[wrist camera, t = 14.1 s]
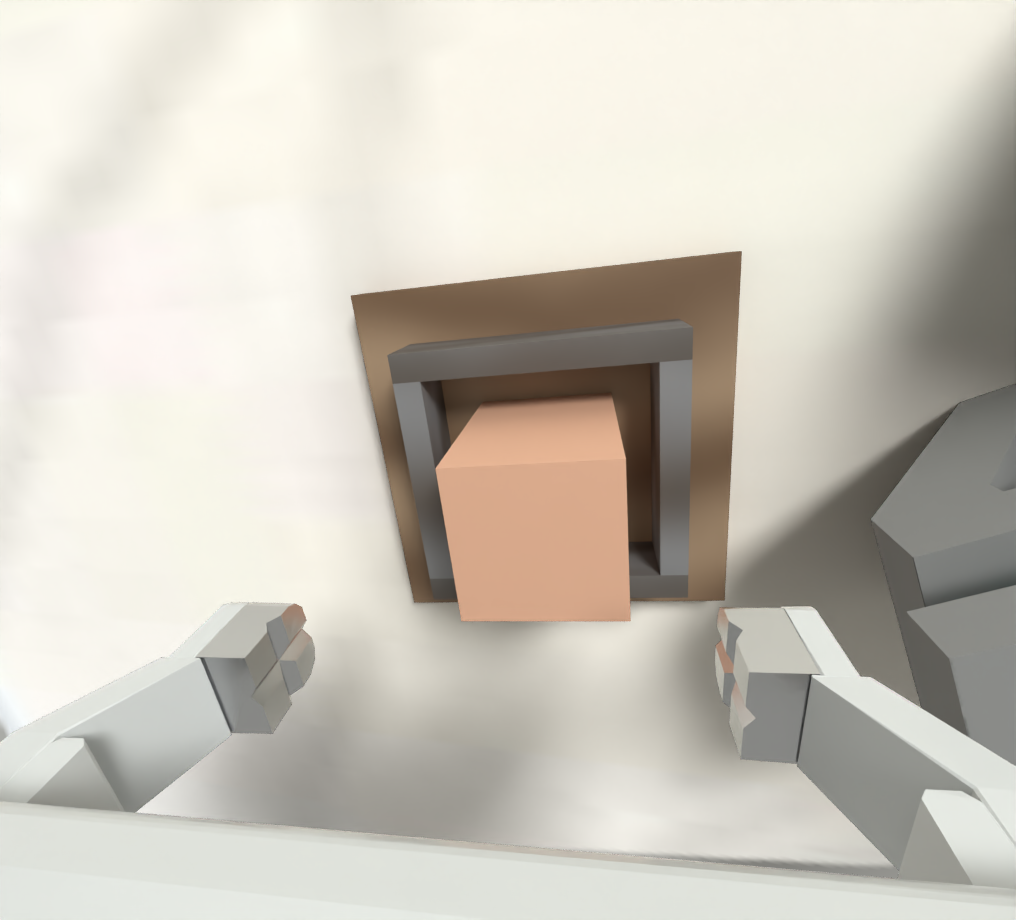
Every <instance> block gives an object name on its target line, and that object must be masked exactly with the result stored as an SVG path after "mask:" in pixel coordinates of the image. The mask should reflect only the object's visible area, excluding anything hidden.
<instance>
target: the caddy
mask: <svg viewBox="0 0 1016 920" xmlns="http://www.w3.org/2000/svg"><path fill="white" fill-rule="evenodd" d="M741 256H742V251H738V252H726V253H718V254H709V255H700V256H691V257H682V258H674V259H665V260H656V261H647V262H639V263H630V264H621V265H612V266H603V267H595V268H586V269H577V270H568V271H559V272H551V273H542V274H533V275H524V276H515V277H507V278H498V279H489V280H480V281H472V282H463V283H454V284H445V285H436V286H428V287H419V288H410V289H401V290H392V291H384V292H375V293H366V294H359V295H352V296H351V300H352V304H353V309H354V314H355V319H356V324H357V329H358V333H359V338H360V343H361V348H362V353H363V357H364V362H365V367H366V372H367V377H368V382H369V386H370V391H371V396H372V401H373V406H374V410H375V415H376V420H377V425H378V430H379V435H380V439H381V444H382V449H383V454H384V459H385V463H386V468H387V473H388V478H389V483H390V487H391V492H392V497H393V502H394V507H395V512H396V516H397V521H398V526H399V531H400V536H401V540H402V545H403V550H404V555H405V560H406V565H407V569H408V574H409V579H410V584H411V589H412V593H413V598H414V602H458V598H457V592H456V586H455V580H454V575H453V569H452V563H451V557H450V551H449V545H448V540H447V534H446V528H445V522H444V516H443V510H442V504H441V499H440V493H439V487H438V481H437V475H436V467H437V466H438V464H439V463H440V461H441V460H442V459H443V457H444V456H445V454H446V453H447V452H448V450H449V449H450V447H451V446H452V444H453V443H454V442H455V440H456V439H457V437H458V436H459V435H460V433H461V432H462V430H463V429H464V428H465V426H466V425H467V423H468V422H469V420H470V419H471V418H472V416H473V415H474V413H475V412H476V411H477V409H478V408H479V406H480V405H481V403H482V402H488V401H501V400H515V399H529V398H542V397H556V396H570V395H584V394H597V393H611V394H612V398H613V403H614V407H615V412H616V416H617V421H618V425H619V430H620V434H621V439H622V444H623V448H624V453H625V457H626V480H627V515H628V550H629V585H630V601H717V600H725V580H726V559H727V539H728V519H729V499H730V478H731V458H732V438H733V418H734V397H735V377H736V357H737V337H738V316H739V296H740V276H741Z"/></svg>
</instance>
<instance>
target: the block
mask: <svg viewBox="0 0 1016 920" xmlns="http://www.w3.org/2000/svg"><path fill="white" fill-rule="evenodd" d="M436 475H437V481H438V487H439V493H440V499H441V504H442V510H443V516H444V522H445V528H446V534H447V540H448V545H449V551H450V557H451V563H452V569H453V575H454V580H455V586H456V592H457V598H458V604H459V610H460V615H461V621H631V620H630V585H629V550H628V515H627V480H626V457H625V453H624V448H623V444H622V439H621V434H620V430H619V425H618V421H617V416H616V412H615V407H614V403H613V398H612V394H611V393H597V394H584V395H570V396H556V397H542V398H529V399H515V400H501V401H488V402H482V403H481V405H480V406H479V408H478V409H477V411H476V412H475V413H474V415H473V416H472V418H471V419H470V420H469V422H468V423H467V425H466V426H465V428H464V429H463V430H462V432H461V433H460V435H459V436H458V437H457V439H456V440H455V442H454V443H453V444H452V446H451V447H450V449H449V450H448V452H447V453H446V454H445V456H444V457H443V459H442V460H441V461H440V463H439V464H438V466H437V467H436Z"/></svg>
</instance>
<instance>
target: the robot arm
mask: <svg viewBox="0 0 1016 920" xmlns="http://www.w3.org/2000/svg"><path fill="white" fill-rule="evenodd" d="M305 622H306V617H305V615H304V612H303V609H302V607H301V606H299V605H297V604H288V603H258V602H252V603H249V602H230V603H227V604H224V605H222V606H221V607H220V608H219V609H218V610H217V611H216V612H215V613H214V614H213V615H212V616H211V617H210V618H209V619H208V620H207V621H206V622H205V623H204V624H203V625H202V626H201V627H200V628H198V629H197V630H196V631H195V632H194V633H193V634H192V635H191V636H190V637H189V638H188V639H187V640H186V641H185V642H184V643H183V644H182V645H181V646H180V647H179V648H178V649H177V650H176V651H175V652H174V653H173V654H172V655H171V656H170V657H161V658H159V659H157V660H155V661H153V662H151V663H149V664H147V665H145V666H143V667H141V668H139V669H137V670H135V671H133V672H131V673H129V674H127V675H125V676H123V677H121V678H119V679H117V680H115V681H113V682H111V683H109V684H107V685H105V686H103V687H101V688H99V689H97V690H95V691H93V692H91V693H89V694H87V695H85V696H83V697H81V698H79V699H77V700H75V701H73V702H71V703H69V704H68V705H66V706H64V707H62V708H60V709H58V710H56V711H54V712H52V713H50V714H48V715H46V716H44V717H42V718H40V719H38V720H36V721H34V722H32V723H30V724H28V725H26V726H24V727H22V728H20V729H18V730H16V731H14V732H12V733H11V734H10V735H9V736H7V737H6V738H5V739H4V740H3V741H2V742H0V920H1016V766H1014V765H1013V764H1011V763H1009V762H1008V761H1006V760H1005V759H1003V758H1001V757H1000V756H998V755H996V754H995V753H993V752H992V751H990V750H988V749H987V748H985V747H983V746H982V745H980V744H979V743H977V742H975V741H974V740H972V739H970V738H969V737H967V736H966V735H964V734H962V733H961V732H959V731H958V730H956V729H954V728H953V727H951V726H949V725H948V724H946V723H945V722H943V721H941V720H940V719H938V718H936V717H935V716H933V715H932V714H930V713H928V712H927V711H925V710H923V709H922V708H920V707H919V706H917V705H915V704H914V703H912V702H910V701H909V700H907V699H906V698H904V697H902V696H901V695H899V694H897V693H896V692H894V691H893V690H891V689H889V688H888V687H886V686H884V685H883V684H881V683H880V682H878V681H876V680H875V679H873V678H872V677H861V676H860V675H859V673H858V672H857V670H856V669H855V667H854V666H853V664H852V663H851V661H850V660H849V658H848V657H847V655H846V654H845V652H844V651H843V649H842V648H841V646H840V645H839V643H838V642H837V640H836V639H835V637H834V636H833V634H832V633H831V631H830V630H829V628H828V627H827V625H826V624H825V622H824V621H823V619H822V618H821V616H820V615H819V613H818V612H817V610H816V609H814V608H813V607H811V606H793V607H780V608H735V607H720V609H719V612H718V618H717V628H718V631H719V634H720V636H721V639H722V640H721V641H720V642H719V643H718V644H717V645H716V647H715V667H716V678H717V683H718V688H719V691H720V695H721V698H722V701H723V702H724V703H725V704H726V705H727V706H728V707H729V708H730V720H729V724H730V728H731V731H732V734H733V737H734V740H735V743H736V746H737V750H738V753H739V756H740V759H746V760H758V761H770V762H783V763H795V764H797V767H798V768H799V769H800V770H801V771H802V772H803V773H804V774H805V775H806V776H807V777H808V778H809V779H810V780H811V781H812V782H813V783H814V784H815V785H816V786H817V787H818V788H819V789H820V790H821V791H822V792H823V793H824V794H825V795H826V796H827V797H828V799H829V800H830V801H831V802H832V803H833V804H834V805H835V806H836V807H837V808H838V809H839V810H840V811H841V812H842V813H843V814H844V815H845V816H846V817H847V818H848V819H849V820H850V821H851V822H852V823H853V824H854V825H855V826H856V827H857V828H858V829H859V830H860V831H861V832H862V833H863V834H864V835H865V836H866V838H867V839H868V840H869V841H870V842H871V843H872V844H873V845H874V846H875V847H876V848H877V849H878V850H879V851H880V852H881V853H882V854H883V855H884V856H885V857H886V858H887V859H888V860H889V861H890V862H891V863H892V864H893V865H894V866H895V867H896V868H897V869H898V870H899V874H898V877H897V879H895V878H884V877H871V876H861V875H849V874H838V873H826V872H814V871H802V870H791V869H779V868H768V867H757V866H746V865H734V864H723V863H712V862H700V861H689V860H676V859H665V858H654V857H642V856H631V855H619V854H607V853H596V852H584V851H572V850H561V849H549V848H537V847H526V846H514V845H502V844H491V843H479V842H468V841H456V840H445V839H433V838H422V837H410V836H399V835H387V834H376V833H364V832H353V831H341V830H330V829H318V828H307V827H296V826H284V825H272V824H261V823H249V822H238V821H226V820H215V819H203V818H192V817H180V816H168V815H157V814H145V813H135V812H136V811H138V810H139V809H140V808H141V807H143V806H144V805H145V804H146V803H148V802H149V801H150V800H151V799H153V798H154V797H155V796H156V795H158V794H159V793H160V792H161V791H163V790H164V789H165V788H166V787H168V786H169V785H170V784H171V783H173V782H174V781H175V780H176V779H178V778H179V777H180V776H181V775H183V774H184V773H185V772H186V771H188V770H189V769H190V768H191V767H193V766H194V765H195V764H196V763H198V762H199V761H200V760H201V759H203V758H204V757H205V756H206V755H208V754H209V753H210V752H211V751H213V750H214V749H215V748H216V747H218V746H219V745H220V744H221V743H223V742H224V741H225V740H226V739H228V738H229V737H230V736H231V735H232V734H231V733H265V734H273V733H274V731H275V730H276V728H277V726H278V725H279V723H280V722H281V720H282V719H283V717H284V716H285V714H286V713H287V711H288V710H289V708H290V706H291V705H292V702H291V694H293V693H294V692H296V691H297V690H299V689H300V688H301V687H303V686H304V685H305V683H306V681H307V680H308V678H309V676H310V675H311V672H312V668H313V665H314V661H315V647H314V644H313V640H312V638H311V637H310V636H309V635H308V634H307V633H306V632H305V631H304V630H303V629H302V628H303V626H304V624H305Z"/></svg>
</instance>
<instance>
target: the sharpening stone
mask: <svg viewBox="0 0 1016 920" xmlns="http://www.w3.org/2000/svg"><path fill="white" fill-rule="evenodd" d="M871 522H872V526H873V530H874V533H875V537H876V541H877V544H878V548H879V552H880V556H881V559H882V563H883V567H884V570H885V574H886V578H887V582H888V585H889V589H890V593H891V596H892V600H893V604H894V608H895V611H896V615H897V619H898V622H899V626H900V630H901V634H902V637H903V641H904V645H905V648H906V652H907V656H908V660H909V663H910V667H911V671H912V674H913V678H914V682H915V686H916V689H917V693H918V697H919V700H920V704H921V707H922V709H923V710H925V711H927V712H928V713H930V714H932V715H933V716H935V717H936V718H938V719H940V720H941V721H943V722H945V723H946V724H948V725H949V726H951V727H953V728H954V729H956V730H958V731H959V732H961V733H962V734H964V735H966V736H967V737H969V738H970V739H972V740H974V741H975V742H977V743H979V744H980V745H982V746H983V747H985V748H987V749H988V750H990V751H992V752H993V753H995V754H996V755H998V756H1000V757H1001V758H1003V759H1005V760H1006V761H1008V762H1009V763H1011V764H1013V765H1014V766H1016V384H1013V385H1010V386H1007V387H1004V388H1001V389H999V390H996V391H993V392H990V393H987V394H984V395H981V396H978V397H975V398H972V399H969V400H966V401H963V402H960V403H959V404H958V405H957V407H956V408H955V409H954V411H953V412H952V413H951V415H950V416H949V417H948V419H947V420H946V421H945V423H944V424H943V425H942V426H941V428H940V429H939V430H938V432H937V433H936V434H935V436H934V437H933V438H932V440H931V441H930V442H929V444H928V445H927V446H926V447H925V449H924V450H923V451H922V453H921V454H920V455H919V457H918V458H917V459H916V461H915V462H914V463H913V464H912V466H911V467H910V468H909V470H908V471H907V472H906V474H905V475H904V476H903V478H902V479H901V480H900V482H899V483H898V484H897V485H896V487H895V488H894V489H893V491H892V492H891V493H890V495H889V496H888V497H887V499H886V500H885V501H884V503H883V504H882V505H881V506H880V508H879V509H878V510H877V512H876V513H875V514H874V516H873V517H872V518H871Z"/></svg>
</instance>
